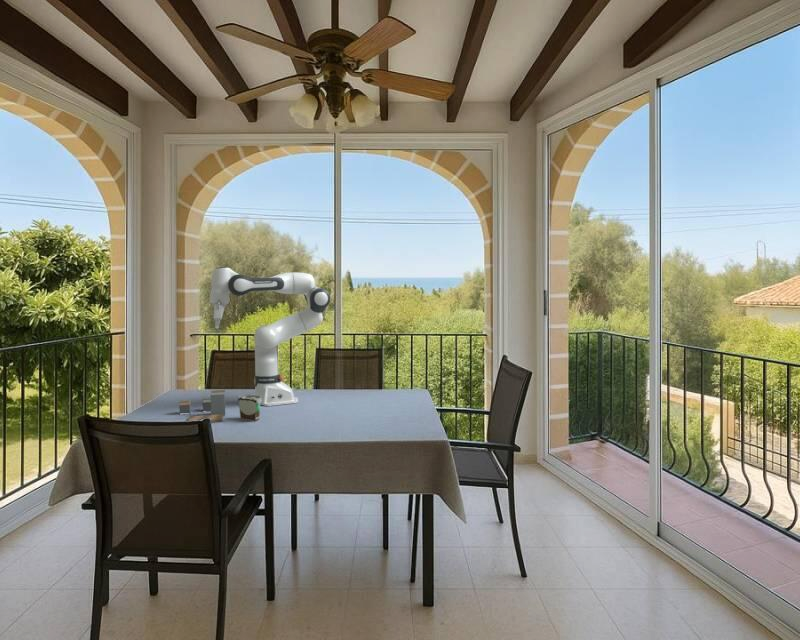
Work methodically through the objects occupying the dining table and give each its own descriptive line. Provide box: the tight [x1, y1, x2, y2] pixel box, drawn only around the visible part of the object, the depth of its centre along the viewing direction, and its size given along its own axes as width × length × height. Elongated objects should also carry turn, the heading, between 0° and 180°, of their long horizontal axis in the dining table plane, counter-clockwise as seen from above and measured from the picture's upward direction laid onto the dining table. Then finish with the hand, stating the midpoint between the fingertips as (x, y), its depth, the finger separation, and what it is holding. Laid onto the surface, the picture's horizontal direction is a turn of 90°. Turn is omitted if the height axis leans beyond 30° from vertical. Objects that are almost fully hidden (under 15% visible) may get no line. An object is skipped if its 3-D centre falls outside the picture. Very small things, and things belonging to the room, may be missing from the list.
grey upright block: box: [210, 389, 226, 417], centre depth 246 cm, size 6×6×11 cm
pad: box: [187, 414, 224, 424], centre depth 236 cm, size 14×10×1 cm
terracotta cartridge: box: [178, 399, 191, 414], centre depth 249 cm, size 4×4×6 cm
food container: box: [237, 394, 262, 422], centre depth 239 cm, size 12×6×10 cm, turn 59°
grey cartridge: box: [202, 396, 211, 412], centre depth 255 cm, size 4×4×6 cm
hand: (217, 327), depth 263 cm, fingers open, 8 cm apart
